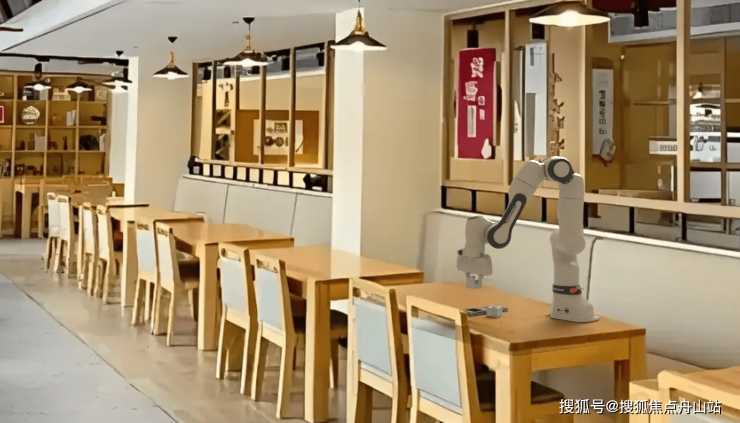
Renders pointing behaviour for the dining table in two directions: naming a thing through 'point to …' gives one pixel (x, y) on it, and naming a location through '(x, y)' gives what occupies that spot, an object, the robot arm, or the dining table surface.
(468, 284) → the grey cube
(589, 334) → the dining table surface
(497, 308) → the nut
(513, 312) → the dining table surface
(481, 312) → the rail
